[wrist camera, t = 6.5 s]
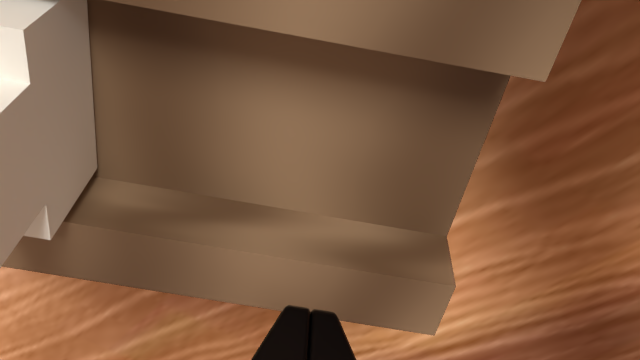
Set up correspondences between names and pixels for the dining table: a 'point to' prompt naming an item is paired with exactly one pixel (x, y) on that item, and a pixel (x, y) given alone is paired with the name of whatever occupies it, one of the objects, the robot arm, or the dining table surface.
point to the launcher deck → (292, 147)
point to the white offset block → (43, 116)
